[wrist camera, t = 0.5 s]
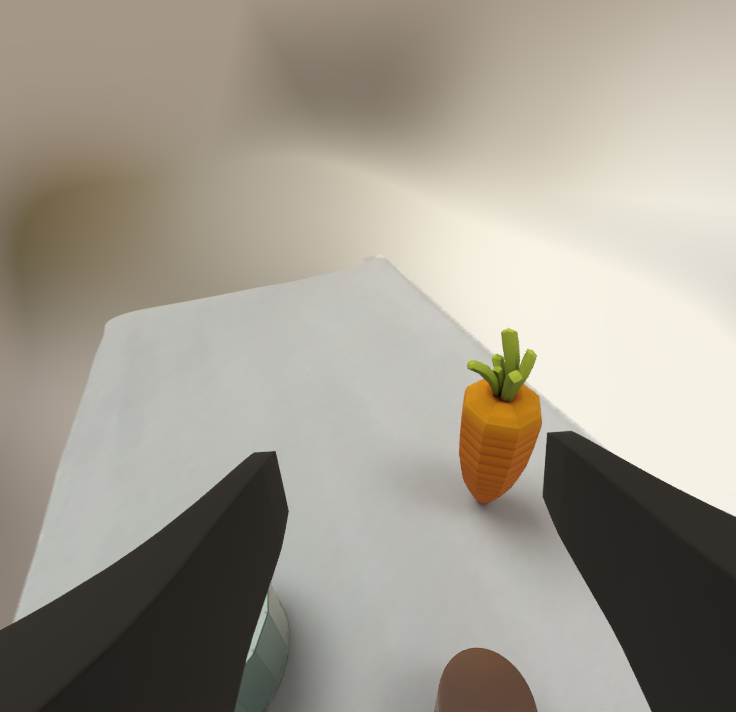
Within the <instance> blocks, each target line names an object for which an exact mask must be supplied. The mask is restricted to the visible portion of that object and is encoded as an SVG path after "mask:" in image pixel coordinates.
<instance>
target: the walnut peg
mask: <svg viewBox="0 0 736 712" xmlns="http://www.w3.org/2000/svg"><path fill="white" fill-rule="evenodd" d="M434 712H537V708H536V704H535V701H534V698H533V695H532V693H531V691H530V688H529V686H528V685H527V683H526V681H525V679H524V678H523V676H522V675H521V673H520V672H519V671H518V670H517V669H516V667H515V666H514V665H513V664H512V663H511V662H509V661H508V660H507V659H506V658H504V657H503V656H501V655H500V654H498V653H496V652H494V651H491V650H488V649H483V648H470V649H467V650H464V651H462V652H460V653H458V654H457V655H455V656H454V657H453V658H452V659H451V660H450V661H449V663H448V664H447V666H446V667H445V669H444V671H443V674H442V677H441V680H440V684H439V690H438V695H437V700H436V705H435V711H434Z"/></svg>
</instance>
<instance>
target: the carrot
mask: <svg viewBox="0 0 736 712" xmlns="http://www.w3.org/2000/svg"><path fill="white" fill-rule="evenodd" d="M501 335H502V344H503V351H504V357H502V356H501V355H499V354H495V355H493V356H492V362H493V366H494V368H493V370H491V369H490V367H489V366H487V365H485V364H483V363H481V362H478V361H474V360H470V361H468V364H467V367H468V369H470V370H472V371H474V372H477V373H479V374H480V375H481V376H482V377H483V378H484V379H483V380H481V381H478V382H476V383H474V384H472V385H470V386H468V387H467V389H466V390H465V394H464V402H463V409H462V418H461V430H460V447H459V456H460V464H461V470H462V475H463V479H464V482H465V484H466V486H467V488H468V490H469V491H470V492H471V494H472V495H473V496H474V498H475V499H476V500H477V501H478V502H479V503H483V504H487V503H489V502H492V501H493V500H495V499H496V498H498V497H500V496H501V495H503V494H504V493H505V492H507V491H508V490H509V489H510V488H511V487H512V486H513V485H514V483H515V482H516V481H517V479H518V478H519V476H520V475H521V473H522V472H523V470H524V469H525V467H526V466H527V463H528V461H529V458H530V456H531V454H532V451H533V449H534V446H535V443H536V440H537V438H538V435H539V432H540V429H541V425H542V418H541V408H540V398H539V396H538V395H537V394H536V393H535V392H534V391H532V390H531V389H529V388H528V387H527V386H525V385H524V382H525V381H526V379H527V378H528V376H529V374H530V372H531V370H532V368H533V366H534V363H535V360H536V357H537V355H536V354H535V353H534V351H533V350H529V349H527V351H526V353H525V355H524V357H523V360H522V362H521V364H520V367H519V363H520V353H519V341H518V334H517V332H516V331H514V330H512V329H506V330H503V331H502V332H501ZM504 359H505V362H504Z"/></svg>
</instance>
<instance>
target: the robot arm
mask: <svg viewBox="0 0 736 712" xmlns="http://www.w3.org/2000/svg"><path fill="white" fill-rule="evenodd" d="M543 499H544V501H545V504H546V506H547V509H548V511H549V514H550V516H551V518H552V521H553V523H554V525H555V528H556V530H557V532H558V534H559V536H560V538H561V540H562V542H563V543H564V545H565V547H566V549H567V551H568V552H569V554H570V556H571V558H572V559H573V561H574V563H575V565H576V566H577V568H578V570H579V572H580V573H581V575H582V577H583V579H584V580H585V582H586V584H587V586H588V587H589V589H590V591H591V592H592V594H593V596H594V598H595V599H596V601H597V603H598V605H599V606H600V608H601V610H602V612H603V613H604V615H605V617H606V619H607V620H608V622H609V624H610V626H611V628H612V629H613V631H614V633H615V635H616V637H617V639H618V641H619V643H620V645H621V646H622V648H623V651H624V653H625V655H626V657H627V659H628V661H629V663H630V666H631V668H632V670H633V672H634V674H635V676H636V678H637V681H638V683H639V685H640V687H641V689H642V691H643V693H644V696H645V698H646V700H647V702H648V704H649V707H650V709H651V711H652V712H736V517H735V516H732V515H731V514H728V513H726V512H724V511H722V510H720V509H718V508H716V507H713V506H711V505H709V504H707V503H705V502H703V501H701V500H699V499H697V498H695V497H693V496H691V495H689V494H687V493H685V492H683V491H681V490H679V489H677V488H675V487H673V486H671V485H670V484H668V483H666V482H664V481H662V480H660V479H658V478H656V477H654V476H653V475H651V474H649V473H647V472H645V471H643V470H642V469H640V468H638V467H636V466H634V465H633V464H631V463H629V462H627V461H625V460H624V459H622V458H620V457H618V456H617V455H615V454H613V453H611V452H610V451H608V450H606V449H604V448H603V447H601V446H599V445H597V444H595V443H594V442H592V441H590V440H588V439H586V438H585V437H583V436H581V435H579V434H577V433H575V432H573V431H564V432H550V433H547V443H546V457H545V471H544V485H543ZM288 512H289V510H288V506H287V501H286V497H285V492H284V487H283V483H282V478H281V474H280V469H279V465H278V460H277V455H276V451H271V452H256V453H253V454H251V455H250V456H249V457H248V458H246V459H245V460H244V461H243V462H242V463H240V464H239V465H238V466H237V467H236V468H235V469H234V470H232V471H231V472H230V473H229V474H228V475H227V476H226V477H225V478H223V479H222V480H221V481H220V482H219V483H218V484H217V485H215V486H214V487H213V488H212V489H211V490H210V491H208V492H207V493H206V494H205V495H204V496H203V497H201V498H200V499H199V500H198V501H197V502H196V503H194V504H193V505H192V506H191V507H189V508H188V509H187V510H186V511H184V512H183V513H182V514H181V515H179V516H178V517H177V518H176V519H174V520H173V521H172V522H171V523H169V524H168V525H167V526H166V527H164V528H163V529H162V530H161V531H159V532H158V533H157V534H155V535H154V536H153V537H151V538H150V539H148V540H147V541H146V542H144V543H143V544H142V545H140V546H139V547H137V548H136V549H134V550H133V551H132V552H130V553H129V554H127V555H126V556H124V557H123V558H121V559H120V560H118V561H117V562H116V563H114V564H112V565H111V566H109V567H108V568H106V569H105V570H103V571H102V572H100V573H98V574H97V575H95V576H93V577H92V578H90V579H89V580H87V581H85V582H84V583H82V584H80V585H79V586H77V587H75V588H74V589H72V590H71V591H69V592H67V593H66V594H64V595H62V596H61V597H59V598H58V599H56V600H54V601H52V602H51V603H49V604H47V605H45V606H44V607H42V608H40V609H38V610H37V611H35V612H33V613H31V614H29V615H28V616H26V617H24V618H22V619H20V620H19V621H17V622H15V623H13V624H11V625H9V626H7V627H5V628H4V629H2V630H0V712H234V711H235V707H236V703H237V698H238V694H239V690H240V685H241V681H242V677H243V672H244V668H245V664H246V660H247V656H248V652H249V649H250V645H251V642H252V638H253V635H254V632H255V629H256V626H257V623H258V620H259V617H260V614H261V611H262V608H263V605H264V601H265V598H266V595H267V592H268V589H269V586H270V583H271V580H272V577H273V574H274V571H275V567H276V564H277V561H278V558H279V555H280V552H281V548H282V544H283V539H284V534H285V529H286V523H287V518H288Z"/></svg>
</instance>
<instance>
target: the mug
mask: <svg viewBox="0 0 736 712" xmlns="http://www.w3.org/2000/svg"><path fill="white" fill-rule="evenodd" d="M288 651H289V629H288V623H287V617H286V614H285V612H284V610H283V608H282V605H281V603H280V601H279V599H278V596H277V594H276V592H275V590H274V588H273V586H272V584H271V583H270V586H269V589H268V592H267V595H266V598H265V601H264V605H263V608H262V611H261V614H260V617H259V620H258V623H257V626H256V629H255V632H254V635H253V638H252V642H251V645H250V649H249V652H248V656H247V660H246V664H245V668H244V672H243V677H242V681H241V685H240V690H239V694H238V698H237V703H236V707H235V711H234V712H264V710H265V709H266V708H267V706H268V705H269V703H270V702H271V700H272V698H273V696H274V695H275V693H276V691H277V689H278V686H279V684H280V682H281V679H282V676H283V673H284V671H285V667H286V663H287V658H288Z"/></svg>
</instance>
